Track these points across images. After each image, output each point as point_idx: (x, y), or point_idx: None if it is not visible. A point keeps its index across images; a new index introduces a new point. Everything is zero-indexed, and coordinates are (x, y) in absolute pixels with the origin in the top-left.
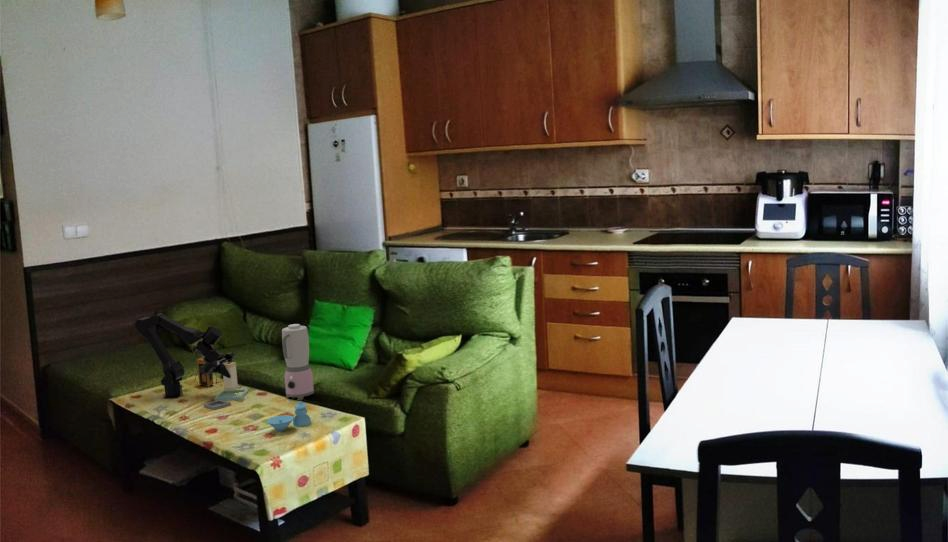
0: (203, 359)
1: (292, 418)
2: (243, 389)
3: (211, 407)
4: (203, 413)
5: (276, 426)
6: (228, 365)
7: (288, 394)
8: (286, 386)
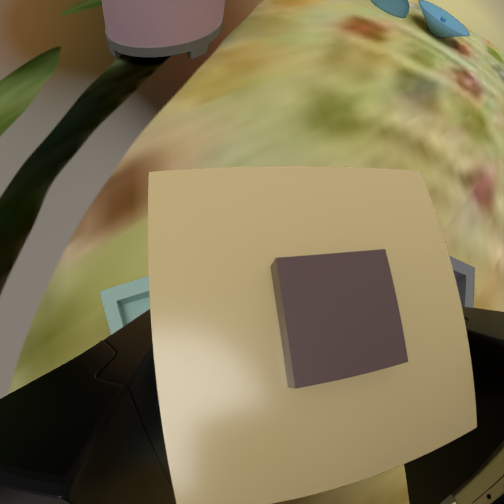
0: None
1: (426, 2)
2: (113, 325)
3: (470, 295)
4: (493, 304)
5: (455, 28)
6: (427, 241)
7: (217, 29)
8: (214, 5)
